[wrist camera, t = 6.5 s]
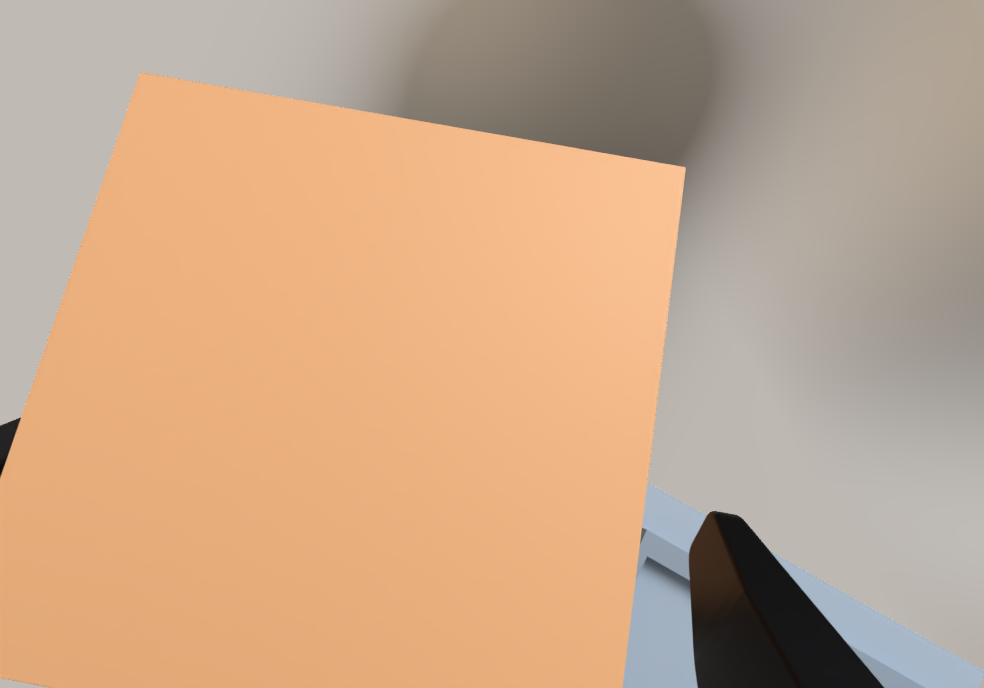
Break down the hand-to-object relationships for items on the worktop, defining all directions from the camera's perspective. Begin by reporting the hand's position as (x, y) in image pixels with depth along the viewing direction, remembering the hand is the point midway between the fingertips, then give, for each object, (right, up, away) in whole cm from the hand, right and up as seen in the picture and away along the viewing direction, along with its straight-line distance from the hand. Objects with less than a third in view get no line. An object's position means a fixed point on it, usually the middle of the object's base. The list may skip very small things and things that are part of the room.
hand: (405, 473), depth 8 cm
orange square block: (0, -1, +8) cm, 9 cm away
